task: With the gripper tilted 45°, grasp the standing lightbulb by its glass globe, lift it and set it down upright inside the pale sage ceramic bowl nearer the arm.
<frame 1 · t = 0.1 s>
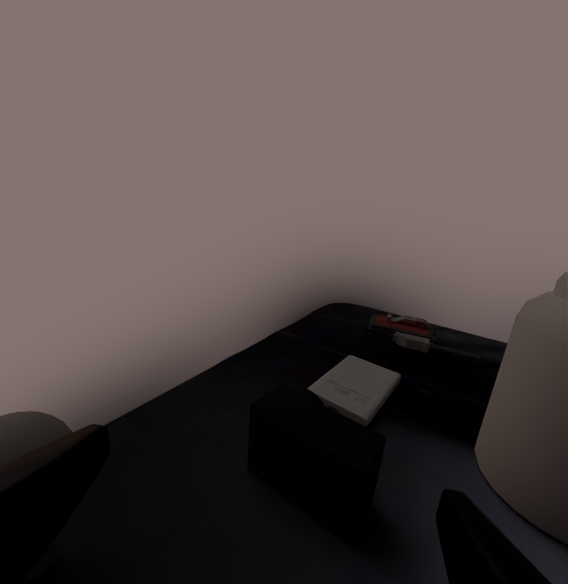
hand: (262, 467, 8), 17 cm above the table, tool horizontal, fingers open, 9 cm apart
lightbulb: (34, 570, 19), on the table
hard drive: (354, 392, 40), on the table
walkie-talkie: (415, 344, 56), on the table
digital camera: (310, 482, 26), on the table
can: (550, 490, 27), on the table
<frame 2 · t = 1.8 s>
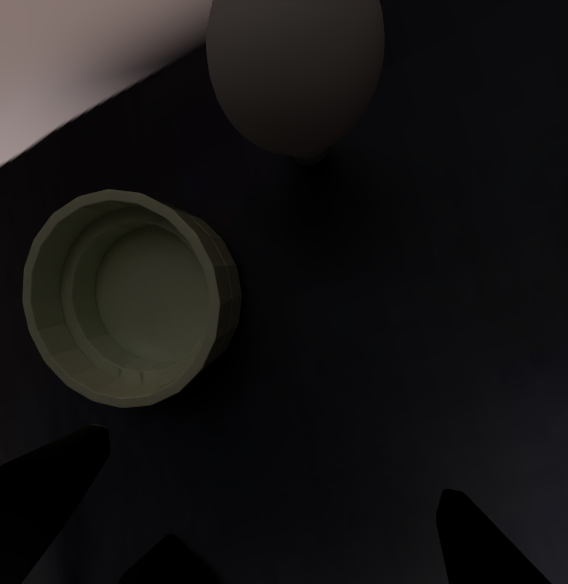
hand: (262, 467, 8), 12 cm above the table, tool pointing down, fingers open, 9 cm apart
lightbulb: (310, 150, 18), on the table
bowl: (161, 294, 21), on the table
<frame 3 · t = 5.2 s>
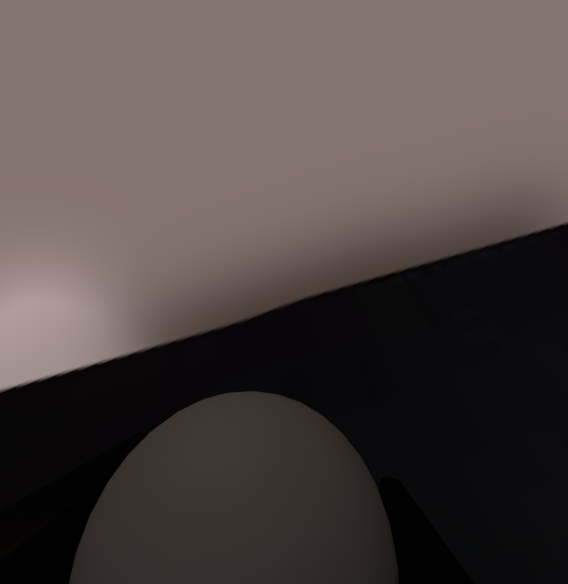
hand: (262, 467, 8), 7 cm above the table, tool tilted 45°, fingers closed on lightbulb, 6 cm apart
lightbulb: (274, 498, 13), on the table, touching gripper
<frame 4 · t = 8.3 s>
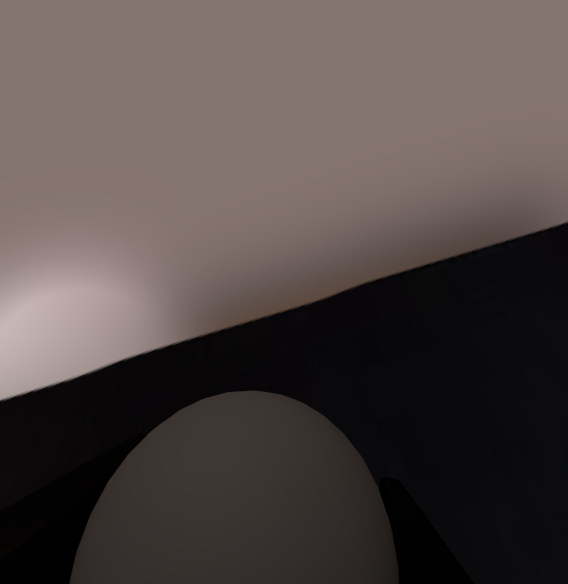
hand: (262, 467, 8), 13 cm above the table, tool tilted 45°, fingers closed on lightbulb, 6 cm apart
lightbulb: (275, 498, 13), point 6 cm above the table, touching gripper
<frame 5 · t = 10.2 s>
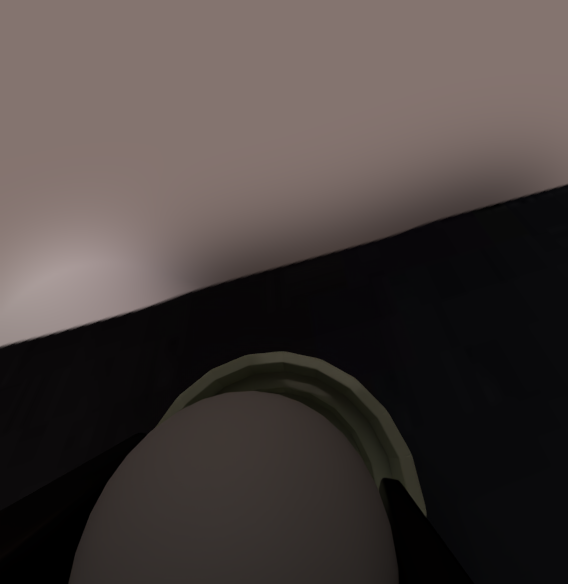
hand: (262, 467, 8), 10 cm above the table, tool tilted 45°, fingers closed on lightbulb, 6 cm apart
lightbulb: (274, 498, 13), point 3 cm above the table, touching gripper
bowl: (279, 485, 16), on the table
when the fingers open (7 cm above the table, at t = 11.5 s): lightbulb stays where it is, resting on bowl.
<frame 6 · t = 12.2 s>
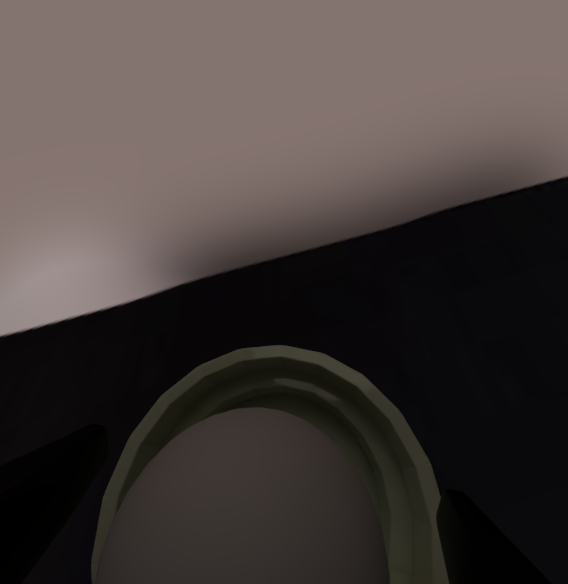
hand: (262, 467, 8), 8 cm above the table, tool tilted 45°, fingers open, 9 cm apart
lightbulb: (276, 503, 14), resting on bowl
bowl: (277, 497, 14), on the table
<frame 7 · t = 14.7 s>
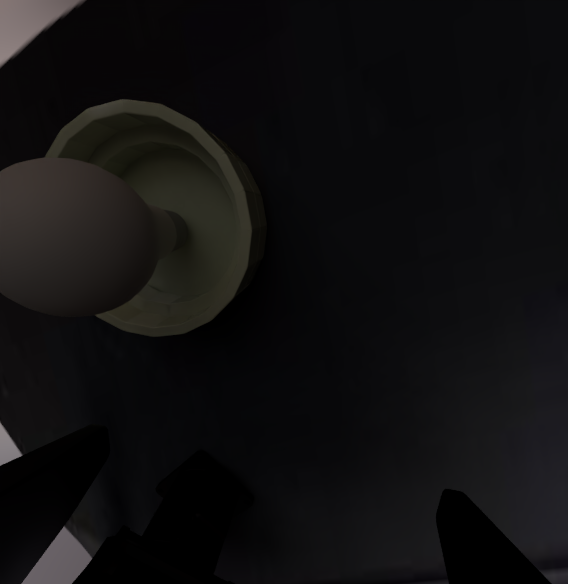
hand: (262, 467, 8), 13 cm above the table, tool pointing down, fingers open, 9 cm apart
lightbulb: (177, 230, 20), resting on bowl
bowl: (180, 226, 20), on the table
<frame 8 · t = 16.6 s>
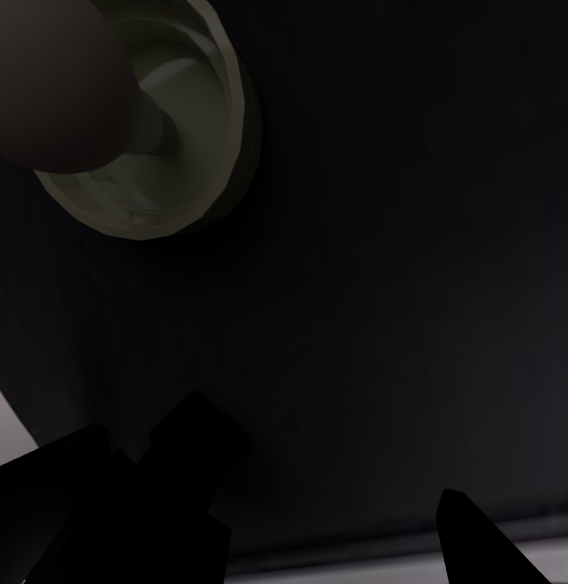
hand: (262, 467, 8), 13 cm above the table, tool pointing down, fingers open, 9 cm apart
lightbulb: (166, 137, 18), resting on bowl
bowl: (169, 135, 18), on the table
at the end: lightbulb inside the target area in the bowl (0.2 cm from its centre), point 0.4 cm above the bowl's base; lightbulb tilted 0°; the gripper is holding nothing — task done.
